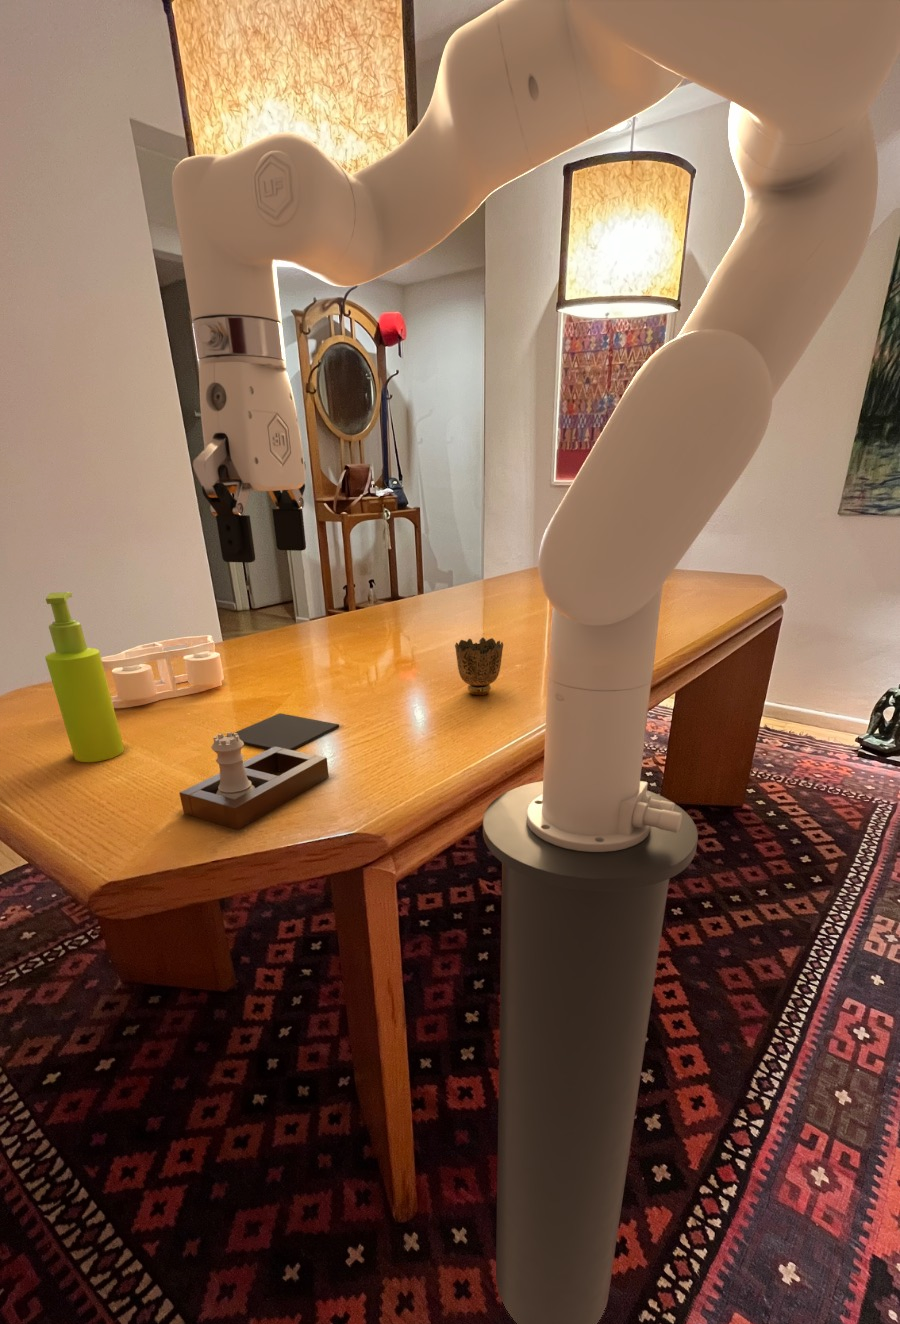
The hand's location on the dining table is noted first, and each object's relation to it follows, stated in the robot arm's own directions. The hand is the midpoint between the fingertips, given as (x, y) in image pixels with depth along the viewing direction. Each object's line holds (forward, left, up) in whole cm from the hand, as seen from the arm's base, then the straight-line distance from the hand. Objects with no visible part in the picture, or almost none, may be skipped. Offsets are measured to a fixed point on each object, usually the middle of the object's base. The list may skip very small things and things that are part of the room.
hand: (267, 555), depth 67 cm
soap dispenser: (+30, +4, -25) cm, 39 cm away
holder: (+2, +4, -25) cm, 25 cm away
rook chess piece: (+2, +8, -25) cm, 26 cm away
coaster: (+13, -12, -25) cm, 30 cm away
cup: (-3, -40, -25) cm, 47 cm away
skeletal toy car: (+43, -18, -25) cm, 53 cm away
